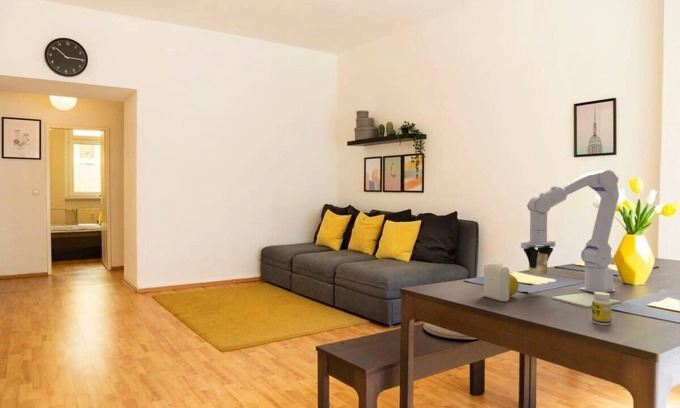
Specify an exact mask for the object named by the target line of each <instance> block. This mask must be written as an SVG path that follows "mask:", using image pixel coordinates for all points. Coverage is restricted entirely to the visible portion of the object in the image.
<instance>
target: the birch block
mask: <svg viewBox="0 0 680 408" xmlns="http://www.w3.org/2000/svg"><path fill="white" fill-rule="evenodd" d="M547 259H548V254H543V253H539V252H538V255H537V263H536V268H530V265H529V264H528V273H529V274H533V275H534V274H535V275H547V274H548V262H547ZM548 260H549V259H548Z"/></svg>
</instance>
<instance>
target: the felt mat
mask: <svg viewBox="0 0 680 408" xmlns="http://www.w3.org/2000/svg"><path fill="white" fill-rule="evenodd" d="M593 299H595V298H594V294H592V293H588V292H581V293H573V294H564V295H558V296H557V295H555V296H551V300H555V301H559V302H563V303H567V304H571V305H574V306H578V307H582V308H586V309H588V308H589V309H590V308H592V301H593ZM609 300H610V301H611V305H616V304H622V301H621V300H618V299H614V298H610V299H609Z"/></svg>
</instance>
